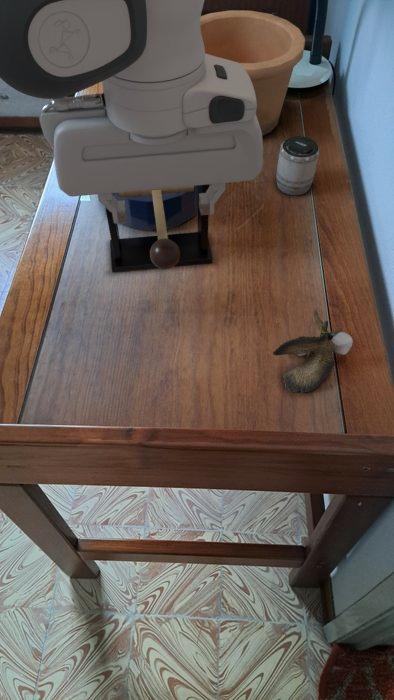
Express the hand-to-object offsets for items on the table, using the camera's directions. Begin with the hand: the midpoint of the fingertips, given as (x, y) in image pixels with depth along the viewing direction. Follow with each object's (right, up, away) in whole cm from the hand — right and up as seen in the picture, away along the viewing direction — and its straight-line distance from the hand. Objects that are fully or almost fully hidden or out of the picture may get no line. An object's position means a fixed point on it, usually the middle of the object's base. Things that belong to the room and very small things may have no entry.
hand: (163, 215), depth 56 cm
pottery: (+11, +31, +43) cm, 54 cm away
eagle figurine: (+18, -17, +11) cm, 27 cm away
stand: (-2, 0, +22) cm, 22 cm away
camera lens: (+20, +13, +31) cm, 40 cm away
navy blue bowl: (-4, +11, +29) cm, 32 cm away
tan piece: (-2, +4, +12) cm, 13 cm away
